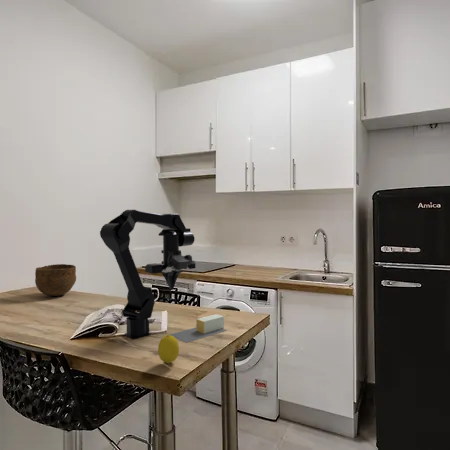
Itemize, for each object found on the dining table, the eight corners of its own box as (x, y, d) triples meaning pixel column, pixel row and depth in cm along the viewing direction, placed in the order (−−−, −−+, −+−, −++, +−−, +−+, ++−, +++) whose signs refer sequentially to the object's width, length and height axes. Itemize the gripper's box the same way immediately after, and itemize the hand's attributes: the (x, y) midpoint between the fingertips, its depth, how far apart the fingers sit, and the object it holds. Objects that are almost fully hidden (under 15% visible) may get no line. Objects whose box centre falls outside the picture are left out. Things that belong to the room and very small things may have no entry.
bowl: (66, 300, 165) (65, 269, 165) (27, 300, 166) (26, 269, 165) (83, 291, 184) (82, 263, 184) (48, 291, 184) (47, 263, 184)
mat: (186, 343, 107) (186, 342, 107) (169, 335, 115) (169, 334, 115) (227, 331, 119) (227, 330, 119) (209, 324, 126) (209, 323, 126)
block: (203, 321, 115) (223, 316, 121) (196, 319, 118) (216, 314, 124) (203, 333, 116) (223, 327, 121) (196, 330, 119) (216, 325, 125)
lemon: (159, 360, 95) (159, 331, 95) (179, 359, 96) (179, 330, 96) (157, 368, 90) (156, 338, 90) (178, 368, 90) (178, 337, 90)
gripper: (160, 250, 116) (160, 297, 116) (204, 247, 128) (204, 289, 128) (144, 248, 124) (144, 292, 124) (187, 245, 136) (187, 284, 137)
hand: (171, 289), depth 128 cm, fingers closed
